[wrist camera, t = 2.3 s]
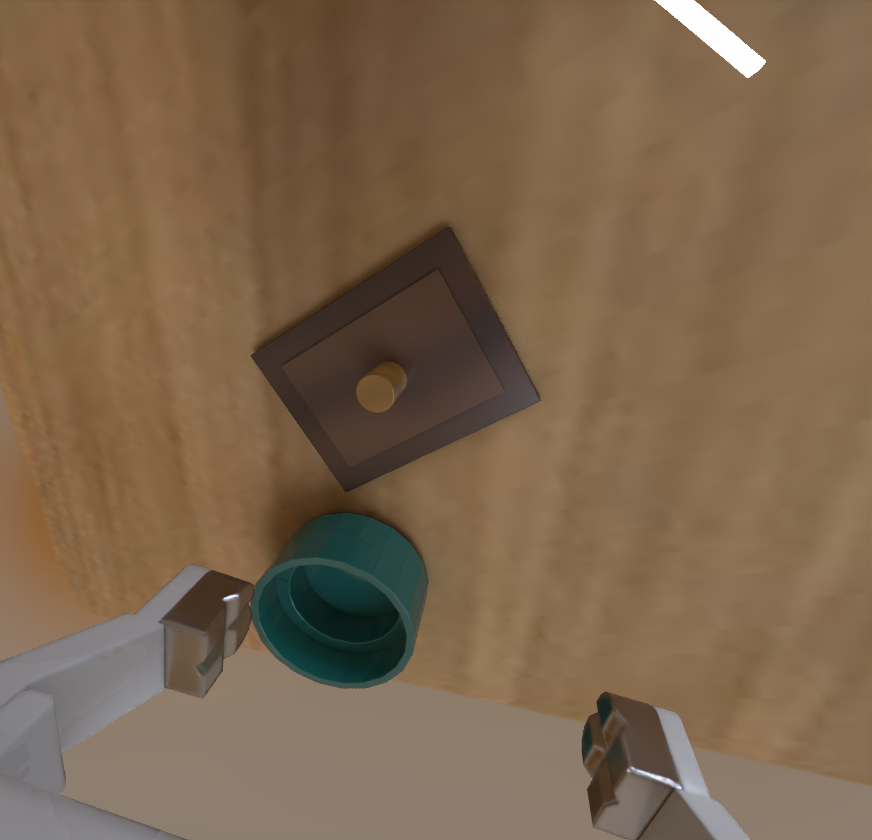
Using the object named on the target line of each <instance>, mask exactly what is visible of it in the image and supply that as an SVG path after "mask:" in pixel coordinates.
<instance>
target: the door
mask: <svg viewBox="0 0 872 840" xmlns="http://www.w3.org/2000/svg"><path fill="white" fill-rule="evenodd" d="M251 357H252V358H253V360H254V361H255V363H256V364H257V365H258V367H259V368H260V370H261V371H262V373H263V374H264V375H265V377H266V378H267V380H268V381H269V383H270V384H271V386H272V387H273V388H274V390H275V391H276V393H277V394H278V396H279V397H280V398H281V400H282V401H283V403H284V404H285V406H286V407H287V408H288V410H289V411H290V413H291V414H292V416H293V417H294V418H295V420H296V421H297V423H298V424H299V426H300V427H301V429H302V430H303V431H304V433H305V434H306V436H307V437H308V439H309V440H310V441H311V443H312V444H313V446H314V447H315V449H316V450H317V451H318V453H319V454H320V456H321V457H322V459H323V460H324V461H325V463H326V464H327V466H328V467H329V469H330V470H331V472H332V473H333V474H334V476H335V477H336V479H337V480H338V482H339V483H340V484H341V486H342V487H343V489H344V490H345V492H348V491H350V490H352V489H354V488H356V487H358V486H360V485H363V484H365V483H367V482H369V481H371V480H373V479H375V478H377V477H380V476H382V475H384V474H386V473H388V472H390V471H392V470H394V469H397V468H399V467H401V466H403V465H405V464H407V463H409V462H411V461H414V460H416V459H418V458H420V457H422V456H424V455H426V454H428V453H431V452H433V451H435V450H437V449H439V448H441V447H443V446H446V445H448V444H450V443H452V442H454V441H456V440H458V439H460V438H463V437H465V436H467V435H469V434H471V433H473V432H475V431H477V430H480V429H482V428H484V427H486V426H488V425H490V424H492V423H494V422H497V421H499V420H501V419H503V418H505V417H507V416H509V415H511V414H514V413H516V412H518V411H520V410H522V409H524V408H526V407H528V406H531V405H533V404H535V403H537V402H539V401H541V400H540V396H539V394H538V392H537V390H536V388H535V386H534V384H533V382H532V381H531V379H530V377H529V375H528V373H527V371H526V369H525V367H524V365H523V363H522V362H521V360H520V358H519V356H518V354H517V352H516V350H515V348H514V346H513V344H512V343H511V341H510V339H509V337H508V335H507V333H506V331H505V329H504V327H503V325H502V323H501V322H500V320H499V318H498V316H497V314H496V312H495V310H494V308H493V306H492V304H491V303H490V301H489V299H488V297H487V295H486V293H485V291H484V289H483V287H482V285H481V284H480V282H479V280H478V278H477V276H476V274H475V272H474V270H473V268H472V266H471V265H470V263H469V261H468V259H467V257H466V255H465V253H464V251H463V249H462V247H461V245H460V244H459V242H458V240H457V238H456V236H455V234H454V232H453V230H452V228H451V227H447V228H446V229H444V230H443V231H441V232H440V233H438V234H437V235H435V236H433V237H432V238H430V239H429V240H427V241H426V242H424V243H423V244H421V245H420V246H418V247H417V248H415V249H414V250H412V251H410V252H409V253H407V254H406V255H404V256H403V257H401V258H400V259H398V260H397V261H395V262H394V263H392V264H390V265H389V266H387V267H386V268H384V269H383V270H381V271H380V272H378V273H377V274H375V275H374V276H372V277H371V278H369V279H367V280H366V281H364V282H363V283H361V284H360V285H358V286H357V287H355V288H354V289H352V290H351V291H349V292H348V293H346V294H344V295H343V296H341V297H340V298H338V299H337V300H335V301H334V302H332V303H331V304H329V305H328V306H326V307H324V308H323V309H321V310H320V311H318V312H317V313H315V314H314V315H312V316H311V317H309V318H308V319H306V320H305V321H303V322H301V323H300V324H298V325H297V326H295V327H294V328H292V329H291V330H289V331H288V332H286V333H285V334H283V335H282V336H280V337H278V338H277V339H275V340H274V341H272V342H271V343H269V344H268V345H266V346H265V347H263V348H262V349H260V350H258V351H257V352H255V353H254V354H252V355H251Z"/></svg>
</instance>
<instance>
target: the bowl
mask: <svg viewBox="0 0 872 840" xmlns="http://www.w3.org/2000/svg"><path fill="white" fill-rule="evenodd" d="M427 587H428V579H427V575H426V571H425V568H424V564H423V562H422V560H421V558H420V557H419V555H418V554H417V552H416V551H415V549H414V548H413V546H412V545H411V544H410V542H409V541H407V540H406V539H405V538H404V537H403V536H401V535H400V534H399V533H398V532H397V531H395V530H394V529H393V528H391V527H390V526H388V525H386V524H384V523H381V522H379V521H377V520H375V519H373V518H371V517H368V516H362V515H356V514H351V513H337V514H328V515H321V516H319V517H317V518H315V519H313V520H311V521H308V522H306V523H304V524H303V525H302V526H301V527H300V528H299V529H298V530H297V531H296V532H295V533H294V535H293V536H292V537H291V538H290V539H289V541H288V542H287V543H286V545H285V546H284V547H283V549H282V550H281V551H280V553H279V554H278V555H277V556H276V558H275V559H274V560H273V562H272V563H271V564H270V566H269V567H268V568H267V570H266V571H265V572H264V574H263V575H262V576H261V578H260V579H259V580H258V582H257V583H256V586H255V589H254V597H253V598H252V599H251V609H252V621H253V623H254V626H255V628H256V630H257V632H258V634H259V636H260V639H261V641H262V642H263V643H264V644H265V646H266V647H267V648H268V649H269V650H270V652H271V653H272V654H273V655H274V656H275V657H276V658H277V659H278V660H280V661H281V662H282V663H283V664H285V665H286V666H288V667H289V668H290V669H292V670H293V671H294V672H296V673H298V674H300V675H302V676H304V677H306V678H309V679H311V680H313V681H315V682H318V683H321V684H325V685H329V686H334V687H339V688H368V687H372V686H375V685H379V684H382V683H386V682H388V681H389V680H391V679H392V678H393V677H395V676H396V675H398V674H399V673H400V672H402V671H403V670H404V668H405V666H406V665H407V663H408V661H409V660H410V658H411V656H412V655H413V651H414V647H415V643H416V639H417V634H418V630H419V626H420V622H421V618H422V614H423V610H424V606H425V601H426V595H427Z"/></svg>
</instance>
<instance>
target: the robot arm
mask: <svg viewBox="0 0 872 840" xmlns="http://www.w3.org/2000/svg"><path fill="white" fill-rule="evenodd" d="M656 1H657V2H658V3H659V4H660V5H662V6H663V7H664V8H665V9H666V10H668V11H669V12H670V13H671V14H672V15H674V16H675V17H676V18H677V19H678V20H679V21H681V22H682V23H683V24H684V25H685V26H687V27H688V28H689V29H690V30H691V31H693V32H694V33H695V34H696V35H697V36H699V37H700V38H701V39H702V40H703V41H704V42H706V43H707V44H708V45H709V46H710V47H712V48H713V49H714V50H715V51H716V52H718V53H719V54H720V55H721V56H722V57H724V58H725V59H726V60H727V61H728V62H729V63H731V64H732V65H733V66H734V67H735V68H737V69H738V70H739V71H740V72H741V73H743V74H744V75H745V76H746V77H747V78H748V77H750V76H751V75H752V74H754V73H755V72H757V71H758V70H759V69H760V68H761V67H762V66H763V64H764V63H765V62H766V61H765V60H763V59H762V58H761V57H760V56H759V55H758V54H756V53H755V52H754V51H753V50H752V49H750V48H749V47H748V46H747V45H746V44H745V43H743V42H742V41H741V40H740V39H739V38H737V37H736V36H735V35H734V34H733V33H732V32H730V31H729V30H728V29H727V28H726V27H725V26H723V25H722V24H721V23H720V22H719V21H717V20H716V19H715V18H714V17H713V16H712V15H710V14H709V13H708V12H707V11H706V10H704V9H703V8H702V7H701V6H700V5H699V4H697V3H696V2H695V1H694V0H656ZM253 597H254V585H253V584H252V583H249V582H246V581H244V580H241V579H238V578H235V577H232V576H229V575H226V574H223V573H220V572H217V571H214V570H210V569H207V568H204V567H201V566H198V565H195V564H191V565H189V566H186V567H185V568H183V569H182V570H181V571H180V572H179V573H178V574H177V575H176V576H175V577H174V578H173V579H172V580H171V581H169V582H168V583H167V584H166V585H165V586H164V587H163V588H162V589H161V590H160V591H159V592H158V593H157V594H156V595H155V596H153V597H152V598H151V599H150V600H149V601H148V602H147V603H146V604H145V605H144V606H143V607H142V608H141V609H140V610H138V611H137V612H136V613H135V614H134V615H133V614H130V613H126V614H123V615H121V616H118V617H115V618H113V619H110V620H108V621H105V622H103V623H100V624H97V625H94V626H92V627H90V628H87V629H84V630H81V631H79V632H76V633H73V634H71V635H68V636H66V637H63V638H60V639H58V640H55V641H52V642H50V643H48V644H45V645H42V646H39V647H37V648H34V649H31V650H29V651H26V652H24V653H21V654H18V655H16V656H13V657H10V658H8V659H5V660H2V661H0V840H187V839H184V838H182V837H179V836H176V835H173V834H170V833H167V832H165V831H162V830H159V829H156V828H153V827H151V826H148V825H145V824H142V823H139V822H136V821H133V820H131V819H128V818H125V817H122V816H119V815H117V814H114V813H111V812H108V811H105V810H102V809H99V808H96V807H94V806H91V805H88V804H85V803H83V802H80V801H77V800H74V799H71V798H68V797H66V796H63V795H60V793H61V792H62V791H63V790H64V788H65V782H66V781H65V780H66V777H65V770H64V764H63V757H62V754H63V753H64V752H66V751H68V750H69V749H71V748H72V747H74V746H76V745H77V744H79V743H80V742H82V741H84V740H85V739H87V738H88V737H90V736H92V735H93V734H95V733H96V732H98V731H100V730H101V729H103V728H105V727H106V726H108V725H109V724H111V723H113V722H114V721H116V720H117V719H119V718H121V717H122V716H124V715H125V714H127V713H128V712H130V711H132V710H133V709H135V708H137V707H138V706H140V705H141V704H143V703H145V702H146V701H148V700H149V699H151V698H153V697H154V696H156V695H157V694H159V693H160V692H162V691H164V688H168V689H171V690H175V691H178V692H181V693H185V694H188V695H192V696H195V697H199V698H204V696H205V695H206V693H207V692H208V690H209V689H210V688H211V687H212V685H213V684H214V682H215V681H216V679H217V678H218V676H219V675H220V674H221V672H222V671H223V659H225V658H227V657H229V656H231V655H233V654H235V652H236V651H237V649H238V648H239V647H240V645H241V644H242V642H243V640H244V638H245V636H246V634H247V632H248V629H249V626H250V623H251V619H252V609H251V608H250V606H249V604H248V603H249V602H250V601H251V599H252V598H253ZM596 703H597V708H598V712H597V713H595V714H592V715H590V716H589V717H588V719H587V722H586V724H585V726H584V730H583V736H582V757H583V764H584V767H585V768H586V769H587V771H588V773H589V774H590V776H591V777H592V779H593V780H592V781H591V783H590V785H589V787H588V789H587V791H588V798H589V804H590V811H591V817H592V823H593V827H594V828H596V829H600V830H602V831H605V832H608V833H610V834H613V835H616V836H619V837H621V838H624V839H627V840H750V838H749V837H748V836H747V835H746V834H745V833H744V831H743V830H742V829H741V828H740V826H739V825H738V824H737V823H736V822H735V820H734V819H733V818H732V817H731V816H730V814H729V813H728V812H727V811H726V810H725V809H724V807H723V806H722V805H721V804H720V803H719V802H718V801H716V800H713V799H711V797H710V795H709V792H708V790H707V787H706V784H705V781H704V779H703V776H702V774H701V771H700V768H699V766H698V763H697V761H696V758H695V755H694V753H693V750H692V747H691V745H690V742H689V740H688V737H687V734H686V732H685V729H684V727H683V724H682V721H681V719H680V717H679V716H678V715H677V714H676V713H675V712H672V711H669V710H665V709H662V708H659V707H655V706H650V705H649V704H646V703H643V702H639V701H636V700H633V699H629V698H626V697H622V696H619V695H616V694H612V693H609V692H604V693H602V694H601V695H600V697H599V699H598V700H597V702H596Z"/></svg>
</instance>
